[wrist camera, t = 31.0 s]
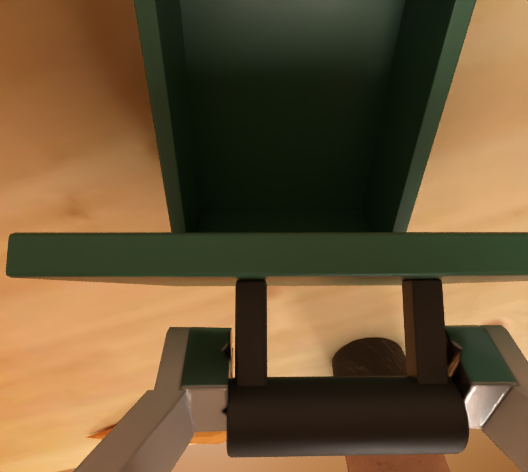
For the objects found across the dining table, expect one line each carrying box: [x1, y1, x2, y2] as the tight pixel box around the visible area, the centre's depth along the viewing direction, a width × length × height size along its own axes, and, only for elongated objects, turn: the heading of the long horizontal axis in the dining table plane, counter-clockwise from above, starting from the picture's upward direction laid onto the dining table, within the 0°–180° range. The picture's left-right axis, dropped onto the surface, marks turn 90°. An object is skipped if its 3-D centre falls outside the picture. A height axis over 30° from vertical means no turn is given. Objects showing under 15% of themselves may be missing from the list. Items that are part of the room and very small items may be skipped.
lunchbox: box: [134, 0, 476, 233], centre depth 21 cm, size 15×13×6 cm
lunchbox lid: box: [6, 232, 528, 457], centre depth 14 cm, size 15×13×5 cm
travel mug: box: [332, 338, 450, 472], centre depth 31 cm, size 8×8×20 cm
